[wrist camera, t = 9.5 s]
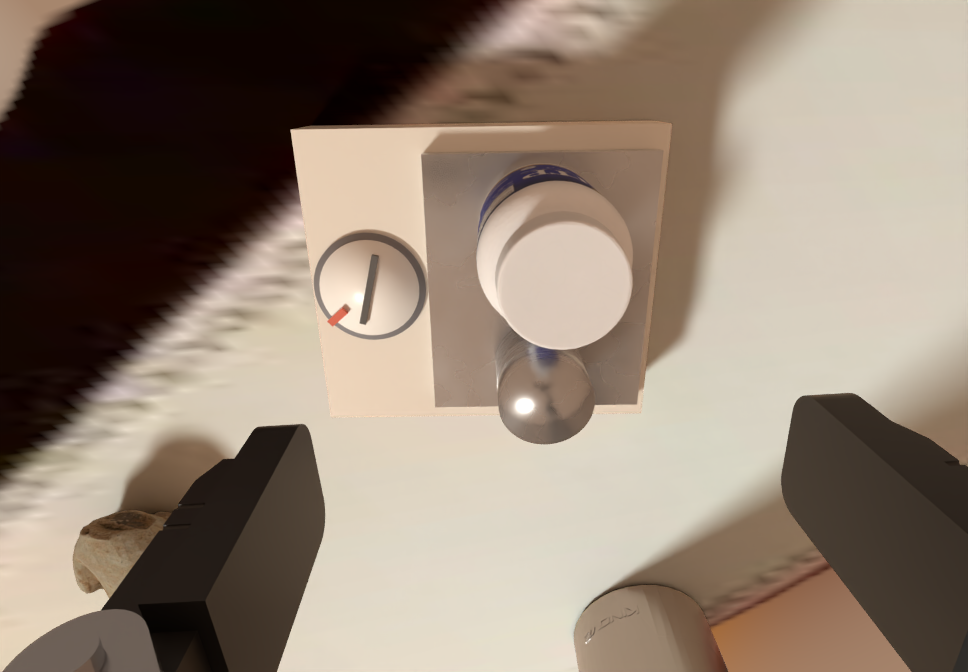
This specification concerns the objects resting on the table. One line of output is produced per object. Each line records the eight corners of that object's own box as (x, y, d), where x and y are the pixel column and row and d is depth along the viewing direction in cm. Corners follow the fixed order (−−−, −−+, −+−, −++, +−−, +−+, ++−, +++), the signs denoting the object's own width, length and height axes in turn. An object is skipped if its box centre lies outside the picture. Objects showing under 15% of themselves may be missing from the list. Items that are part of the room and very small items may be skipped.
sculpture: (262, 636, 41) (195, 479, 34) (233, 705, 37) (150, 541, 30) (168, 638, 42) (83, 483, 35) (130, 706, 38) (24, 545, 31)
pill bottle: (622, 193, 24) (694, 245, 16) (565, 300, 26) (603, 395, 18) (508, 139, 23) (523, 165, 15) (458, 254, 25) (447, 331, 17)
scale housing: (652, 120, 26) (676, 123, 23) (627, 385, 32) (643, 418, 29) (310, 125, 27) (286, 130, 23) (344, 389, 32) (328, 422, 29)
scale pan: (657, 148, 24) (663, 150, 23) (633, 396, 29) (637, 404, 28) (422, 152, 24) (421, 154, 23) (436, 399, 29) (435, 407, 28)
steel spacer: (596, 359, 27) (615, 402, 23) (536, 411, 28) (545, 460, 25) (538, 305, 26) (548, 341, 22) (477, 362, 27) (478, 405, 23)
